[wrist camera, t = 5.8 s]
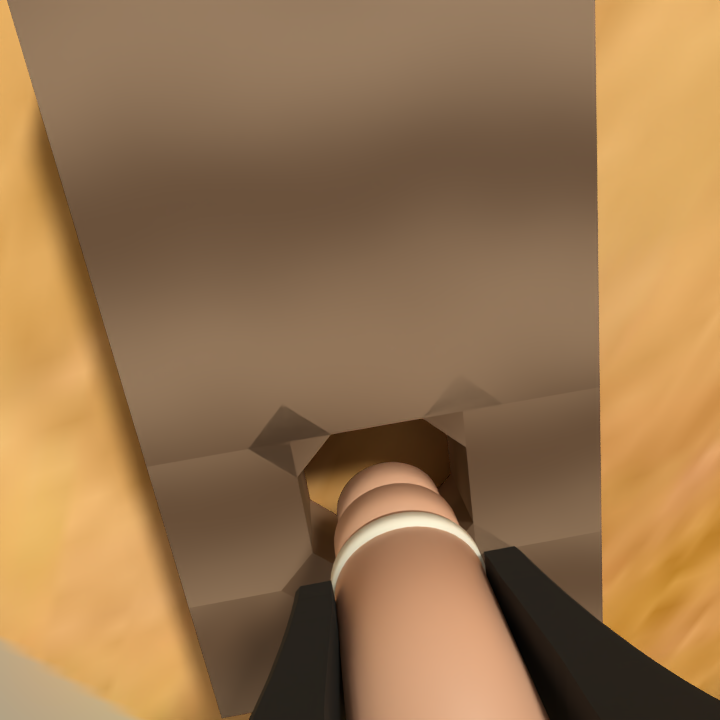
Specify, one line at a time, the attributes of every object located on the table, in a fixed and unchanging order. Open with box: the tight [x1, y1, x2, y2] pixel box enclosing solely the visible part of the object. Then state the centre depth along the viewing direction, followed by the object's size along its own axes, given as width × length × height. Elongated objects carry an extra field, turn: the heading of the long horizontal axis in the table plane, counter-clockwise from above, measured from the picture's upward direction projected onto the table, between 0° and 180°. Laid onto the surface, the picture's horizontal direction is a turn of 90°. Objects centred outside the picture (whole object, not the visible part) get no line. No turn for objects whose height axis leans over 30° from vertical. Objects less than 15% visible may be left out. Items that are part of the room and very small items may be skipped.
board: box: [7, 0, 603, 718], centre depth 16 cm, size 18×11×2 cm, turn 8°
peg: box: [330, 462, 550, 720], centre depth 12 cm, size 3×3×8 cm
